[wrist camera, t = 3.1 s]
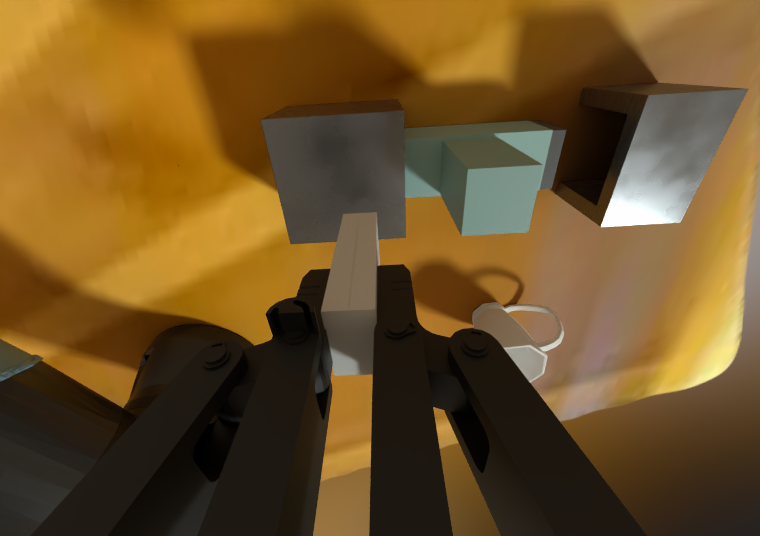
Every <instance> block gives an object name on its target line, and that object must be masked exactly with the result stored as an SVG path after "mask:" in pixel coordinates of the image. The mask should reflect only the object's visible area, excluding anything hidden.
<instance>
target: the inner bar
mask: <svg viewBox="0 0 760 536" xmlns="http://www.w3.org/2000/svg"><path fill="white" fill-rule="evenodd" d="M565 134H566V129H563V128H560V127H557V126H554V125H551V124H548V123H546V122H543V121H512V122H495V123H479V124H463V125H447V126H431V127H415V128H404V137H405V198H413V197H430V196H442V198H443V200H444V202H445V204H446V206H447V208H448V210H449V212H450V214H451V216H452V218H453V220H454V222H455V224H456V226H457V228H458V230H459V232H460V234H461V236H470V235H487V234H505V233H523V232H528V230H529V226H530V222H531V217H532V213H533V208H534V204H535V199H536V195H537V191H538V190H539V189H552V186H553V182H554V178H555V174H556V170H557V166H558V162H559V158H560V154H561V150H562V146H563V142H564V138H565Z"/></svg>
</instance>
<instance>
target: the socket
mask: <svg viewBox="0 0 760 536" xmlns="http://www.w3.org/2000/svg"><path fill="white" fill-rule="evenodd" d="M747 91H748V89H743V88H728V87H714V86H699V85H685V84H670V83H647V84H631V85H615V86H600V87H584V88H583V91H582V94H581V98H580V102H579V104H580V105H585V106H590V107H595V108H600V109H605V110H610V111H615V112H620V113H625V114H628V116H627V119H626V122H625V125H624V127H623V130H622V133H621V136H620V139H619V142H618V145H617V148H616V151H615V154H614V157H613V160H612V163H611V166H610V168H609V171H608V174H607V177H606V179H598V180H581V181H563V182H559V183H558V187H557V191H556V195H558V196H559V197H560V198H562V199H563V200H564V201H566V202H567V203H569V204H570V205H571V206H573V207H574V208H576V209H577V210H578V211H580V212H581V213H582V214H584V215H585V216H587V217H588V218H589V219H591V220H592V221H594V222H595V223H596V224H598V225H599V226H600V227H607V226H625V225H642V224H660V223H678V222H681V220H682V218H683V216H684V214H685V212H686V210H687V208H688V206H689V204H690V202H691V200H692V198H693V196H694V194H695V192H696V190H697V188H698V187H699V185H700V183H701V181H702V179H703V177H704V175H705V173H706V171H707V169H708V167H709V165H710V163H711V161H712V159H713V157H714V155H715V153H716V151H717V149H718V147H719V145H720V143H721V141H722V140H723V138H724V136H725V134H726V132H727V130H728V128H729V126H730V124H731V122H732V120H733V118H734V116H735V114H736V112H737V110H738V108H739V106H740V104H741V102H742V100H743V98H744V96H745V95H746V93H747Z"/></svg>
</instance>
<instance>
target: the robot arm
mask: <svg viewBox="0 0 760 536" xmlns="http://www.w3.org/2000/svg"><path fill="white" fill-rule="evenodd" d="M266 317H267V320H268V323H269V326H270V328H271V331H272V334H273V337H272V339H271V340H270V341H267V342H265V343H262V344H259V345H255V346H253V345H252V344H251V343H249V342H248V341H247V340H245V339H244V338H242V337H240V336H238V335H236V334H234V333H232V332H229V331H227V330H224V329H220V328H217V327H212V326H206V325H182V326H177V327H173V328H170V329H168V330H166V331H164V332H162V333H161V334H160V335H158V336H157V337H156V338H155V340H154V341H153V342H152V344H151V345H150V346H149V347H148V349H147V350H146V351H145V353H144V355H143V357H142V360H141V363H140V368H139V370H138V373H137V376H136V379H135V382H134V385H133V388H132V391H131V395H130V398H129V400H128V402H127V404H126V405H125V406H124V408H122V407H120V406H118V405H117V404H115V403H113V402H111V401H110V400H108V399H106V398H105V397H103V396H101V395H99V394H98V393H96V392H94V391H93V390H91V389H89V388H88V387H86V386H84V385H82V384H81V383H79V382H77V381H76V380H74V379H72V378H70V377H69V376H67V375H65V374H64V373H62V372H60V371H58V370H57V369H55V368H53V367H52V366H50V365H48V364H46V363H45V362H43V361H41V360H42V359H43V358H42V357H40V356H39V355H31V354H29V353H27V352H25V351H23V350H21V349H19V348H17V347H15V346H13V345H11V344H9V343H7V342H5V341H3V340H2V339H0V536H313V530H314V523H315V516H316V508H317V501H318V493H319V486H320V479H321V472H322V464H323V457H324V450H325V442H326V435H327V427H328V420H329V413H330V405H331V398H332V384H331V379H330V378H331V372H332V367H333V372H334V376H341V375H367V374H373V391H372V438H371V487H370V488H371V489H370V533H369V536H453V533H452V527H451V521H450V514H449V507H448V502H447V495H446V488H445V482H444V475H443V469H442V462H441V456H440V449H439V443H438V436H437V430H436V423H435V417H434V410H433V407H435V408H439V409H442V410H445V413H446V415H447V418H448V420H449V422H450V424H451V426H452V429H453V431H454V433H455V435H456V437H457V440H458V442H459V444H460V446H461V448H462V451H463V453H464V455H465V457H466V459H467V462H468V464H469V466H470V468H471V470H472V473H473V475H474V477H475V479H476V481H477V484H478V486H479V488H480V490H481V493H482V495H483V496H484V499H485V501H486V503H487V506H488V508H489V510H490V512H491V515H492V517H493V519H494V521H495V523H496V526H497V528H498V530H499V532H500V534H501V536H647V535H646V534H645V533H644V531H643V530H642V529H641V527H640V526H639V525H638V523H637V522H636V521H635V519H634V518H633V517H632V516H631V514H630V513H629V512H628V510H627V509H626V508H625V506H624V505H623V504H622V502H621V501H620V500H619V499H618V497H617V496H616V495H615V493H614V492H613V491H612V489H611V488H610V487H609V485H608V484H607V483H606V482H605V480H604V479H603V478H602V476H601V475H600V474H599V472H598V471H597V470H596V468H595V467H594V466H593V465H592V463H591V462H590V461H589V459H588V458H587V457H586V455H585V454H584V453H583V451H582V450H581V449H580V448H579V446H578V445H577V444H576V442H575V441H574V440H573V438H572V437H571V436H570V434H568V432H567V430H566V429H565V428H564V427H563V425H562V424H561V423H560V421H559V420H558V419H557V417H556V416H555V415H554V413H553V412H552V411H551V410H550V408H549V407H548V406H547V404H546V403H545V402H544V400H543V399H542V398H541V396H540V395H539V394H538V393H537V391H536V390H535V389H534V387H533V386H532V385H531V383H530V382H529V381H528V379H527V378H526V377H525V376H524V374H523V373H522V372H521V370H520V369H519V368H518V366H517V365H516V364H515V362H514V361H513V360H512V359H511V357H510V356H509V355H508V353H507V352H506V351H505V349H504V348H503V347H502V345H501V344H500V343H499V341H498V340H497V339H495V338H494V337H493V336H492V335H491V334H489V333H487V332H485V331H483V330H479V329H474V328H468V329H462V330H459V331H457V332H455V333H454V334H453V335H452V336H451V337H445V336H440V335H437V334H433V333H431V332H429V331H427V330H426V329H424V328H423V327H422V326H421V325H420V323H419V322H418V319H417V315H416V308H415V301H414V295H413V288H412V282H411V275H410V271H409V270H408V269H407V268H406V267H405V266H404V264H401V265H381V266H380V257H379V242H378V227H377V212H371V213H353V214H343V217H342V221H341V226H340V230H339V235H338V239H337V243H336V248H335V252H334V256H333V261H332V265H331V269H317V270H310V271H309V272H308V273H307V274H306V275H305V276H304V277H303V279H302V281H301V284H300V289H299V290H298V293H297V296H296V297H294V298H288V299H284V300H282V301H279V302H277V303H276V304H274V305H273V306H272V307H270V308H269V310H268V311H267V313H266Z"/></svg>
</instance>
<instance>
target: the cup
mask: <svg viewBox="0 0 760 536" xmlns="http://www.w3.org/2000/svg"><path fill="white" fill-rule="evenodd" d="M516 310H529V311H539V312H544V313H548V314H550V315H551V316H553V317H554V318H555V319H556V321H557V323H558V326H559V330H558V333H557V336H556V337H555V338H554V339H553V340H550V341H545V342H540V343H536V342H535V341H534V340H533V338H532V337H531V336H530V335H529V333H528V332H527V331H526V330H525V328H524V327H523V326H522V325H521V324H520V323H519V322H518V321H517V320H516V319H515V318H514V317H512V316H511V315H510V314H509V313H508V312H511V311H516ZM472 323H473V325H474V329H479V330H483V331H485V332H487V333H489V334H491V335H492V336H493V337H494V338H495V339H497V340H498V341H499V343H500V344H501V345H502V347H503V348H504V349H505V351H506V352H507V353H508V355H509V356H510V357H511V359H512V360H513V361H514V362H515V364H516V365H517V366H518V368H519V369H520V370H521V372H522V373H523V374H524V376H525V377H526V378H527V379H528V381H529V382H532V381H533V380H535V379H536V378H538V377H540V376H541V375H543V374H544V370H545V366H546V361H547V357H548V356H547V355H546V354H545V352H544V351H548V350H550V349H552V348H554V347H556V346H558V345H559V344H560V343H561V341H562V339H563V336H564V331H563V327H562V324H561V321H560V319H559V317H558V315H557V314H556V312H554V311H553V310H552V309H550V308H549V307H545V306H541V305H532V304H514V305H508V306H506V307H503V306H502V305H501V304H499V303H498V302H493V303H484V304H482V305H481V306H479V307H478V308H477V309H476V310H475V311H473V312H472Z"/></svg>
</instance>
